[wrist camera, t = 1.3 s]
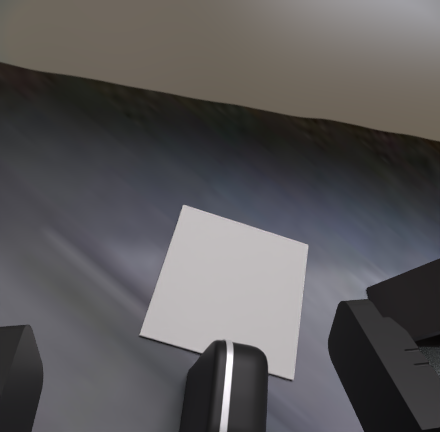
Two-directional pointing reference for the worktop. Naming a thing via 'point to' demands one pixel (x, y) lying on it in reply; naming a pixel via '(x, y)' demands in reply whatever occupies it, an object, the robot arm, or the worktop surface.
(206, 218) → the mat
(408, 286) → the phone stand
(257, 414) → the battery charger
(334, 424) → the worktop surface
